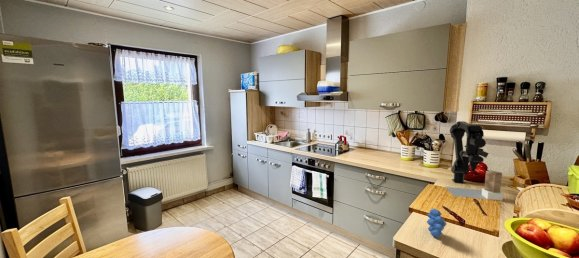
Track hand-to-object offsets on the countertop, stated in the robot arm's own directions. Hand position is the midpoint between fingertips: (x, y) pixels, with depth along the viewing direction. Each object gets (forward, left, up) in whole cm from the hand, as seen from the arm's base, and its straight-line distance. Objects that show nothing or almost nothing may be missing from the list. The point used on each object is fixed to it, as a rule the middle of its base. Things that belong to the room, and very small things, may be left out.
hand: (469, 169), depth 151 cm
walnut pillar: (+13, +7, -8) cm, 17 cm away
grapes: (+66, -35, -13) cm, 76 cm away
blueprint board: (+8, -1, -13) cm, 16 cm away
